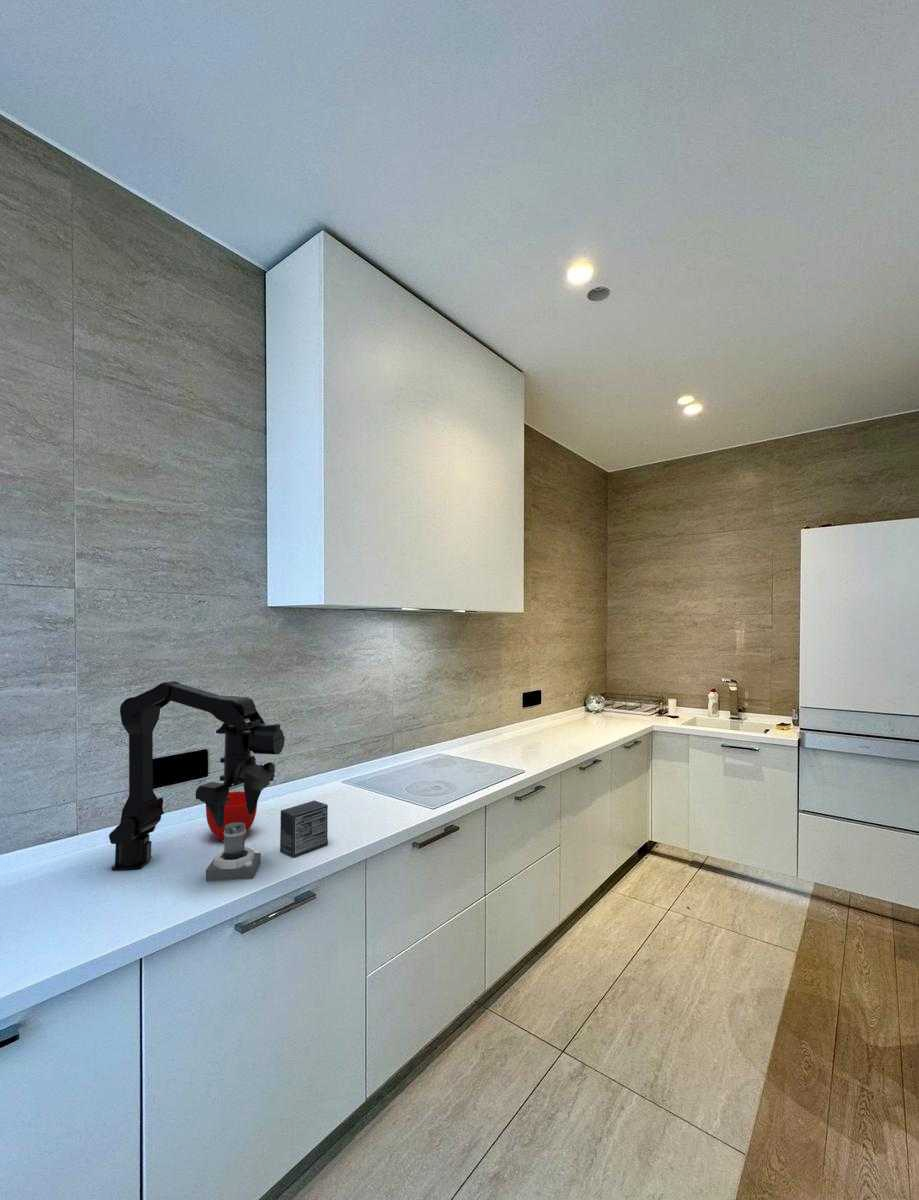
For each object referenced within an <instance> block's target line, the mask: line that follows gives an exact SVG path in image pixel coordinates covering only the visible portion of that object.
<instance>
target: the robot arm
mask: <svg viewBox="0 0 919 1200" xmlns="http://www.w3.org/2000/svg"><path fill="white" fill-rule="evenodd" d="M171 702H174V703H177V704H180V705H183V706H187V707H191V708H193V709H197V710H200V711H204V712H206V713H209V714H210V715H212V716H213V717H215V719H216V720H219V721H220V722H222V725H221V726H220V727H219V728H218V729H216V730H215V733H216V734H221V735H224V751H223V752H224V757H223V756H222V757H220V759H219V763H221V764H223V775H220V776H219V781H220V782H214V781H209V782H207V783H204V784H201V785H199V786H197V788H195V800H197V801H198V800H199V802H202V803H204V804H205V806H206V805H207V807H208V809H209V810H210V812H211V814H212V816H213V818H214V820H215V822H216V824H217V826H218V827H219V828H222V827H223V824H224V812H225V804H226V803H227V802H228V800H229V798H227V796H228V794H229V792H230V791H231V790H233V789H236V788H239V787H241V786H243V789H244V790H243V792H245V798H246V805H247V810H248V814H250V815H252V814H253V812H254V809H255V807H256V804H257V805H258V800H259V797H260V795H261V793H262V791H264V789H265V788H267V787H268V786H269V785H270V782H273V781H274V778H275V773H276V767H275V765H276V764H275V763H274V762H271V761H269V762H266V763H264V764H257V762H256V757H255V755H252V753H253V754H256V755H257V754H258V755H259V754H260V755H280V754H281V753H282V752H283V749H284V747H285V742H286V741H285V740H286V739H285V736H284V735H285V734H284V731H283V730H282V729H281V724H280V723H273V724H268V723H267V724H266V723H265V721H264V719H263V717H262V715H260V713H259V712H258V710H257V707H256V704H255V702H254V700H253V699H252V698H249V697H247V696H237V695H220V694H216V693H214V692H213V693H212V692H210V691H206V690H204V689H203V690H202V689H200V688H197V687H193V686H189V685H186V684H183V683H180V682H178V681H176V680H172V681H165V682H160V684H157V685H156V686H155V687H153V688H151V689H149V690H147V691H145V692H143V693H141V694H139V695H136V696H132V697H128V698H126V699H125V700H124V701H123V702H121V703H120V707H119V714H120V715H119V716H120V720H121V721H120V722H121V725H122V726H123V729H124V730H125V731H126V732H127V734H128V797H127V800H126V801H125V803H124V805H123V807H122V809H121V814H120V815H121V816H120V820H119V824H118V825H117V826H116V827H115V828H114V829H113V830H112V831H111V832H110V833H109V834H108V838H109V842H110V844H111V845H115V853H114V865H113V866H111V867H110V868H111V871H118V870H119V871H121V870H123V871H124V870H139V869H142V868H143V866H145V865H146V864H147V863H148V862H149V861H150V860H151V858H153V856H152V842H153V841H152V840H150V837H151V836H150V835H151V834H150V833H153V832H154V831H155V829H156V827H157V825H158V823H160V822H161V820H162V815H165V811H164V808H163V805H164V798H163V797H157V795H156V794H155V793H154V763H153V762H154V759H153V758H154V757H153V756H154V753H153V752H154V751H153V750H154V749H153V748H154V747H153V742H154V740H153V739H154V737H153V734H154V733H153V732H154V730H155V728H156V726H157V724H158V722H159V719H160V713H161V709H162V708H164V707H165V706H167V705H168V704H169V703H171Z"/></svg>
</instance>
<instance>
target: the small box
mask: <svg viewBox="0 0 919 1200" xmlns="http://www.w3.org/2000/svg"><path fill="white" fill-rule="evenodd" d="M328 808H329V805H328V804H327V803H324V802H320V801H317V800H312V801H308V802H304V803H302V804H298V805H295V806H291V807H288V808H285V809H281V810H280V827H279V828H280V833H279V834H280V835H279V836H280V838H279V844H280V846H279V852H281V853H283V854H285V855H287V856H288V857H291V858H292V859H294V858H297V857H299V856H303V855H305V854H308V853H309V852H313V851H316V850H318V849H321V848H323V847H326V846H328V844H329V841H328V838H329V837H328V831H329V830H328V828H329V827H328V825H329V824H328V823H329V822H328V819H329V818H328V817H329V814H328V813H329V812H328Z"/></svg>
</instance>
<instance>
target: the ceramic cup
mask: <svg viewBox="0 0 919 1200" xmlns="http://www.w3.org/2000/svg"><path fill="white" fill-rule="evenodd" d="M227 798H229V800H228V802H227V803H226V804H225V812H224V824H223V827H222V828H219V827H218V826H217V824H216V822H215V820H214V818H213V816H212V814H211V812H210V810H209V809H208V807H207V805H206V804H205V816H206V822H207V825H208V828H209V830H210V831H211V833H212V834H213V835H214V836H215V837H216V838H217V840H219V841H223V842H224V830H225V826H226V825H227V824H230V823H234V822H242V823H245V828H246V833H247V832H248V831H249V829H250V828H251V827H252V825H253V823H254V821H255V818H256V816H257V815H256V814H257V811H258V810H257V808H258V803H257V804H256V807H255V809H254V812H253V814H252V815H250V814H248V810H247V805H246V798H245V791H241V790H240V791H229V794H228V796H227Z"/></svg>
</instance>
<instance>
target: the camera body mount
mask: <svg viewBox="0 0 919 1200" xmlns="http://www.w3.org/2000/svg"><path fill="white" fill-rule="evenodd" d="M261 857H262V856H261V852H255V849H252V848H250V847H248V846H245V851H244V857H242V858H239V859H236V860H224V849H223V850H220V851H218V852H217V853H216V854H215V855H214V856H213V859H212V860H211V862H210V863H209V865H208V866H207V868H206V869H205V882H218V881H220V882H221V881H236V880H238V881H239V880H252V879H253V878H254V876H255V875H256V873H257V871H258V869H259V867H260V865H261Z"/></svg>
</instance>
